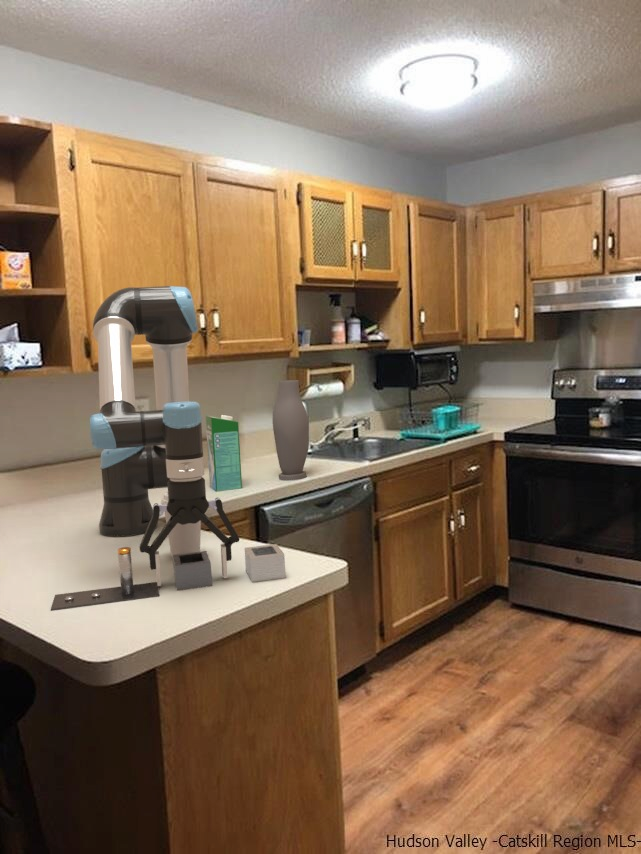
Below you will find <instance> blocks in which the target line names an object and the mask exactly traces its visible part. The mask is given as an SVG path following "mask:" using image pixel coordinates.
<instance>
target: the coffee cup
mask: <svg viewBox="0 0 641 854" xmlns="http://www.w3.org/2000/svg"><path fill="white" fill-rule="evenodd" d="M167 504H168V491H166V492H165V493H164V494H163V497H162V498H161V501H160V505H167ZM164 516H165V517H164V518H165V523H166V524H167V522H168V520H169V519H170V518H171V515H170V514H169V513H168V511H164ZM166 524H165V525H166ZM201 524H202V521H201V520H200V521H199V522H197V523H194V524H192V523H188V524H184V525H181V524H179V523H177V524H176V526H175V527H174V528H173V529H172V530H171V532H170V533H169V534H168V536H167V538H168V542H169V548H170V554H171V559H173V555H177V554H185V553H194V552H201V531H202V530H201V529H202V528H201V527H202V526H201Z"/></svg>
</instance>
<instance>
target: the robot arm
mask: <svg viewBox="0 0 641 854" xmlns="http://www.w3.org/2000/svg"><path fill="white" fill-rule="evenodd" d="M195 309H196V308H195V304H194V300H193V296H192V293H191V291H190V289H189V288H188V287H185V286H172V285H166V286H164V285H163V286H142V287H134V286H133V287H131V286H129V287H125V288H124V287H123V288H121V289H119V290H116V291H115V292H113V293H112V294H110V295H109V296H108V297H106V299H104V300H103V302H102V303H101V304H100V306H99V307H98V308H97V310H96V313H95V315H94V317H93V321H92V323H93V324H92V335H93V338H94V340H95V341H96V342H97V356H98V357H97V358H98V359H97V360H98V389H99V390H98V392H99V412H98V413H96V414H94V413H93V414H92V415H91V416H90V417H89V433H90V434H89V435H90V441H91V442H90V443H91V445H92V447H93V449H95V450H102V451H101V453H100V466H99V467H100V470H101V481H102V491H103V492H102V495H103V506H102V507H103V508H102V511H101V515H100V519H99V522H98V523H99V524H98V528H99V534H100V535H102V536H106V537H128V536H129V537H130V536H136V535H141V534H143V537H142V540H141V542H140V544H139V552H140V553H146V554H148V556H149V568H150V570H155V571H156V572H155V573H156V582H157V586H158V587H162V579H161V577H162V576H161V575H162V574H161V564H160V563H161V562H160V553H159V548H160V547H161V546H162V544H163V543H164V541H166V539H167V538H168V534H169V533H170V532H171V530H172V529H173V528H174V527H175V526H176V524H177V523H179V524H181V525H184V524H188V523H192V524H194V523H197V522H199V521H200V520H201V523H203V525H205V526H206V527H207V528H208V529H209V530H210V531H211V532H212V533H213V534H214V536H216V537H217V538H218V540H220V541H221V542H222V543H220V557H221V558H220V559H221V561H220V562H221V575H222V576H223V579H228V565H227V563H228V562H229V561H232V545H233V544H235V543H238V542H240V537H239V535H238V533H237V532H236V530H235V527H233V524H232V523H231V522H230V520H229V518H228V516H227V514H226V513H225V511H224V508H223V507H224V506H223V502H222V500H221V498H220V497H215V498H214V499H212V500H207V493H206V491H207V490H206V479H205V478H204V475H205V463H204V459H205V458H204V448H203V427H202V426H203V425H202V424H203V423H202V421H203V416H202V413H201V412H202V411H201V405H200V403H198V402H197V401H190V390H189V389H190V388H189V372H188V371H189V370H188V368H189V367H188V349H187V347H188V345H189V344H191V342H192V341H193V334H195V333H198V330H199V328H198V321H197V314H196V310H195ZM136 335H137V336H138V335H139V336H140V335H141V336H142V335H143V336H145V343H147V344H148V345H149V346H150V347H151V348H152V359H153V360H152V363H153V376H154V391H155V402H156V403H155V405H156V406H155V407H156V410H142V411H141V410H139V411H137V407H136V404H137V403H136V393H135V379H134V366H133V365H134V363H133V352H132V341H133V340H134V338H135V336H136ZM166 488H167V492H168V504H167V505H162V504H159V503H156V502H155V503H154V504H153V505H152V504H151V501H150V498H149V490H153V489H155V490H156V489H166ZM209 507H211V508H212V510H213V511H216V512H217V513H218V515H219V518H220V519H221V521H222V522H223V524H224V526H225V529H226V530H227V531H228V533H229V534H230V536H229V537H228V536H227V535H226V534H225V533H224V532H223V531H222V530H221V529H220V528H219V527H218V526H217V525H216V524H215V523H214V522H213V521H212V520H211V519H210V518H209V516H207V514H206V512H208V511H207V510H208V509H209ZM164 511H168V513H169V514H170V515H171V518H170V519H169V520H168V522H167V524H165V525H164V526H163V528H162V529H161V531H160V532H159V533H158V535H156V537H155V539H154V540H153V541H152V543H151V544H150V541H151V539H152V536H153V534H154V531H155V530H156V529H157V527H158V522H159V519H160V517H161V516H163V515H164V514H165V512H164Z"/></svg>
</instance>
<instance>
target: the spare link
mask: <svg viewBox="0 0 641 854" xmlns="http://www.w3.org/2000/svg"><path fill="white" fill-rule="evenodd" d="M285 561H286V560H285V553H284V552H283V550H282V549H281V548H280V546H279V545H278V544H277V543H274V544H272V543H271V544H265V545H256V546H249V547H244V563H245V572H246V574H247V573H248V574H247V575H249V576H248V577H249V579H250V581H251V583H258V582H263V581H270V580H271V581H272V580H279V579H286V562H285ZM257 581H258V582H257Z"/></svg>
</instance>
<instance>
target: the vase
mask: <svg viewBox="0 0 641 854" xmlns="http://www.w3.org/2000/svg"><path fill="white" fill-rule="evenodd" d="M307 413H308V412H307V410H306V408H305V405H304V403H303V401H302V399H301V394H300V381H299V379H289V380H288V379H286V380H279V381H278V391H277V395H276V400H275V402H274V406H273V410H272V428H273V429H272V430H273V436H274V442H275V449H276V455H277V459H278V464H279V468H280V471H281V473H278V480H280V481H298V480H302V479H305V478H307V476H308V475H307V471H306V470H304V467H305V465H306V464H305V463H306V461H307V456H308V453H309V448H310V423H309V422H310V421H309V417H308V414H307Z"/></svg>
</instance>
